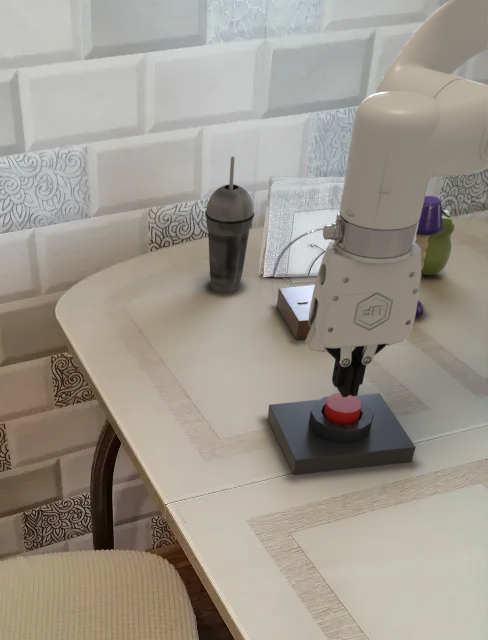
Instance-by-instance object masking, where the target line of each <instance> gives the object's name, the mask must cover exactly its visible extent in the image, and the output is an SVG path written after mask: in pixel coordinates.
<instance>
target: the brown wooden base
mask: <svg viewBox="0 0 488 640" xmlns="http://www.w3.org/2000/svg"><path fill="white" fill-rule="evenodd" d="M314 287H315V284H310V285H297V286H288V287H280V288H278V293H277V302H276V308H277V309H278V311H279V313H280V314H281V316H282V317H283V320H284V321H285V323H286V325H287V326H288V329H289V330H290V332H291V333H292V335H293V337H294V339H295V340H296V341H299V340H300V341H301V340H306V338H307V335H308V333H309V331H310V328H311V327H310V326H309V311H310V305H311V300H312V295H313V291H314Z"/></svg>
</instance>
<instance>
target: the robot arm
mask: <svg viewBox="0 0 488 640" xmlns="http://www.w3.org/2000/svg"><path fill="white" fill-rule="evenodd" d="M486 50H488V0H448V1H447V2H445V3H444V4H442V5H440V6H439V7H438V8H437V9H436V10H435V11H434V12H433V13H431V14H430V15H429V16H428V17H427V18H426V19H425V20H424V21H423V22H422V23H421V24H420V25H419V26H418V28H417V29H416V30H415V31H414V32H413V33H412V34H411V36H410V37H409V39H408V40H407V41H406V42H405V44H404V46H403V47H402V48H401V50H400V51H399V52H398V53H397V55H396V57H395V58H394V59H393V60H392V62H391V63H390V65H389V67H388V68H387V70H386V71H385V73H384V75H383V76H382V77H381V79H380V81H379V82H378V85H377V87H376V88H375V90H374V93H372V94H371V95H369V96H367V97H366V98H364V99H363V100H362V101H361V102H360V104H359V105H358V107H357V108H356V111H355V115H354V119H353V126H352V130H351V131H352V132H351V137H350V138H351V139H350V143H349V151H348V156H347V163H346V170H345V176H344V181H343V188H342V195H341V201H340V206H339V213H337V214H336V218H335V222H334V223H331V224H329V225H327V224H326V225H324V226H323V229H322V237H323V239H324V240H325V241H328V240H331V241H329V243H328V245H327V247H326V249H325V251H324V255H323V257H322V260H321V263H320V266H319V269H318V272H317V275H316V278H315V282H314V285H315V287H314V291H313V295H312V300H311V305H310V311H309V326H310V327H311V328H310V331H309V333H308V335H307V338H306V339H305V340H304V343H305V345H306V346H307V348H308V350H310V351H315V352H322V353H325V352H326V353H328V354H329V355H330V356H331V357H333V359H334V364H333V371H332V376H331V383H332V385H333V386H334V387H335V388H336V389H337V390H338V393H340V394H341V395H342V397H348V395H351V396H358V394H359V391H360V390H359V389H360V386H361V385H363V383H364V380H365V379H364V378H365V373H366V369H367V366H368V365H370V364H371V363H372V362H373V359H374V358H375V356H376V355H377V354H378V353H380V352H381V351H382V350H383V349H384V348H385V347H386V346H387V347H389V346H392V345H396V344H399V343H402V342H403V341H405V340H406V339H408V338H409V337H410V336H411V333H412V332H413V327H414V324H415V320H416V317H415V315H416V309H417V303H418V300H419V296H420V295H419V294H420V288H421V287H420V286H421V278H420V276H421V277H422V275H421V248H420V247H419V246H418V245H417V244H415V241H416V233H417V229H418V224H419V220H420V216H421V212H422V207H423V203H424V198H425V196H426V194H427V189H428V184H429V182H430V180H431V179H432V178H433V179H434V178H436V177H437V178H438V177H452V176H453V177H456V176H467V175H473V174H478V173H480V172H483V171H485V170H488V84H486V83H482V82H478V81H474V80H470V79H467V78H465V77H462V76H458V75H454V74H453V73H455V71H456V70H457V69H458V68H460V67H461V66H462V65H464V64H465V63H466V62H468V61H469V60H471V59H472V58H474V57H475V56H478V54H480V53H483V52H485V51H486Z"/></svg>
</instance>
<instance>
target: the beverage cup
mask: <svg viewBox="0 0 488 640" xmlns="http://www.w3.org/2000/svg"><path fill="white" fill-rule="evenodd" d="M235 159H236V158H235V156H231V157H230V165H229V166H230V167H229V184H224V185H222V186H220V187H218V188H217V189H215V190H214V191H213V193H212V194H211V195H210V197H209V199H208V201H207V205H206V210H205V213H204V216H205V218H206V219H205V220H206V227H207V228H206V229H207V237H208V257H209V258H208V259H209V261H208V262H209V277H210V287H211V288H212V290H214V291H215V292H219V293H232V292H236V291H237V290H239V289H240V287H241V281H242V277H243V272H244V265H245V260H246V254H247V247H248V241H249V236H250V235H249V234H250V230H251V228H252V226H253V225H252V224H253V221H254V217H255V208H254V203H253V199H252V197H251V195H250V193H249V192H248V190H246V189H245V188H244V187H242V186H240V185H238V184H234V177H235V176H234V175H235V174H234V173H235Z"/></svg>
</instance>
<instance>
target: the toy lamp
mask: <svg viewBox="0 0 488 640" xmlns="http://www.w3.org/2000/svg"><path fill="white" fill-rule="evenodd" d="M442 207H443V206H442V201H441V199H440V197H437V196H434V195H425V198H424V203H423V207H422V212H421V216H420V220H419V224H418V229H417V233H416V238H415V242H414V243H415V244H417V245H418V246H419V247H420V248H421V270H422V269H423V266H424V262H423V260H424V259H425V256H426V251H425V250H426V249H427V247H428V239H429V237H430V235H433V234H437V233H439V232H440V231H441V230H442V210H443V208H442ZM422 275H423V274H422V273H421V276H420V279H422ZM423 313H424V306H423V304H422V302H421V301H420V300H419V299H418V303H417V309H416V315H415V318H418V317H420V316H421V315H422V314H423Z"/></svg>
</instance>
